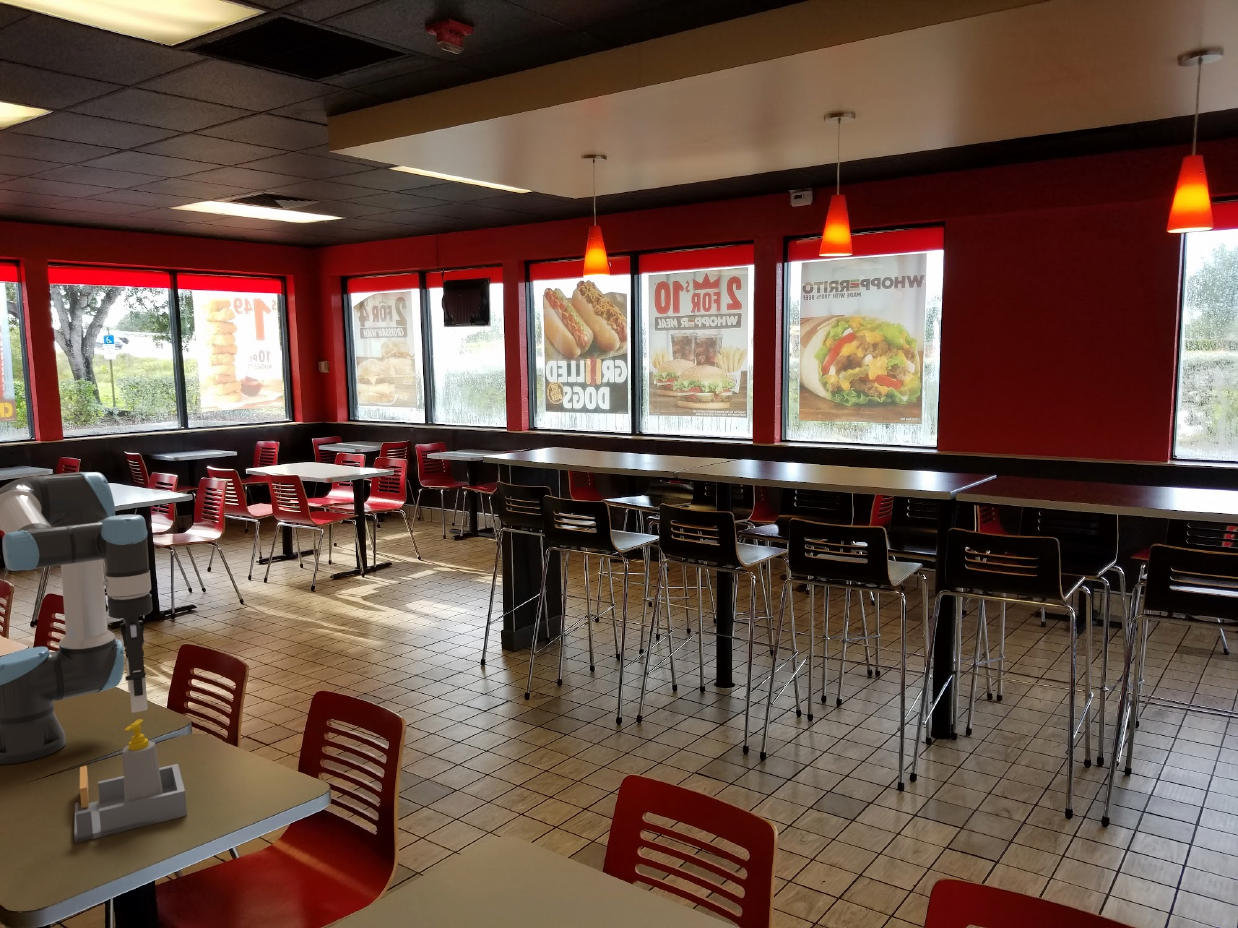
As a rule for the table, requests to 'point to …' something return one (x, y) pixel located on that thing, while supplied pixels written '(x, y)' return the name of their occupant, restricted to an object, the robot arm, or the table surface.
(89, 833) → the box
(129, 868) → the table surface
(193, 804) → the table surface
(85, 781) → the orange long flat block
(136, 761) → the soap bottle
